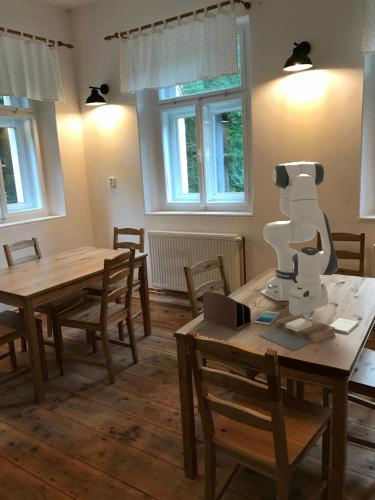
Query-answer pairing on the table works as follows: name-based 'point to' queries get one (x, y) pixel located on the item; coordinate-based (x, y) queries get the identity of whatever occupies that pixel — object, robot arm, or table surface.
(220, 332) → the table surface
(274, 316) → the smartphone
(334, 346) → the table surface
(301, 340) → the mat
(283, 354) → the table surface
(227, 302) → the letter holder
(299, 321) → the cream flat block
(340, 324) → the external hard drive
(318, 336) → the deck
